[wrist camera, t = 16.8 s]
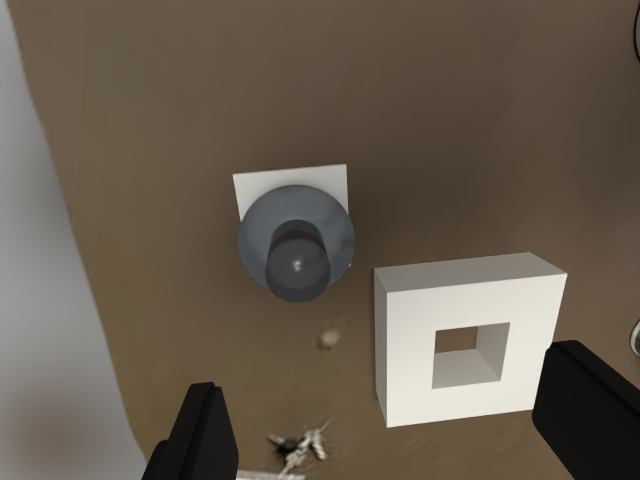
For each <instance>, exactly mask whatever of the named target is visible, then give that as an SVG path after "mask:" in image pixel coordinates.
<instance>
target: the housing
mask: <svg viewBox="0 0 640 480" xmlns="http://www.w3.org/2000/svg"><path fill="white" fill-rule="evenodd" d="M566 277H567V273H565V272H564V271H562V270H560V269H558V268H557V267H555V266H553V265H551V264H550V263H548V262H546V261H544V260H543V259H541V258H539V257H537V256H536V255H534V254H532V253H530V252H525V253H515V254H506V255H496V256H486V257H477V258H467V259H457V260H447V261H438V262H428V263H418V264H409V265H399V266H389V267H380V268H374V304H375V367H376V393H377V396H378V399H379V403H380V406H381V409H382V412H383V416H384V419H385V422H386V426H387V427H394V426H402V425H410V424H418V423H426V422H434V421H442V420H450V419H458V418H466V417H474V416H482V415H490V414H498V413H506V412H514V411H521V410H529V409H533V407H534V403H535V398H536V393H537V389H538V384H539V379H540V375H541V370H542V365H543V361H544V356H545V352H546V350H547V349H548V348H549V347H550V345H551V342H552V338H553V334H554V329H555V325H556V321H557V316H558V312H559V308H560V303H561V299H562V295H563V290H564V286H565V281H566ZM471 326H478V331H477V339H476V347H475V349H468V350H459V351H450V352H442V353H434V346H435V332H436V330H444V329H453V328H462V327H471Z"/></svg>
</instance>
